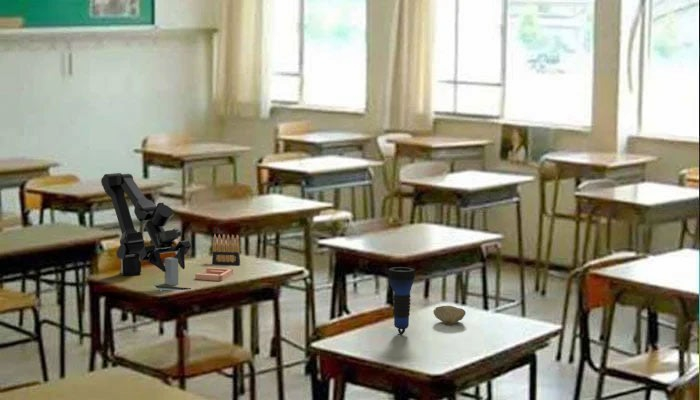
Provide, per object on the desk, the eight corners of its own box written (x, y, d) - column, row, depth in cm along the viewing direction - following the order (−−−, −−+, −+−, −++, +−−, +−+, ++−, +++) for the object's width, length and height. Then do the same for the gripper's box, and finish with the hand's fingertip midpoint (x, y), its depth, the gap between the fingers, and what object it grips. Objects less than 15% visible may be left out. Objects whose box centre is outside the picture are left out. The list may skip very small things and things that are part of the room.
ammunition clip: (212, 264, 449) (211, 233, 448) (213, 263, 451) (213, 233, 449) (239, 265, 448) (239, 234, 447) (240, 264, 450) (240, 234, 448)
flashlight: (398, 328, 357) (399, 265, 354) (418, 333, 353) (420, 268, 350) (382, 334, 351) (383, 269, 348) (403, 338, 346) (404, 272, 343)
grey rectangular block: (164, 285, 410) (164, 258, 409) (172, 284, 412) (171, 257, 411) (171, 287, 408) (170, 259, 406) (178, 286, 409) (178, 258, 408)
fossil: (469, 307, 362) (438, 301, 360) (469, 320, 359) (438, 314, 357) (459, 320, 369) (429, 315, 367) (459, 332, 366) (429, 327, 365)
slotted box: (195, 282, 418) (195, 274, 418) (207, 275, 430) (207, 267, 429) (221, 284, 416) (221, 275, 415) (232, 277, 427) (232, 269, 427)
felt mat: (159, 291, 403) (159, 290, 403) (154, 285, 412) (154, 285, 412) (191, 289, 407) (191, 288, 407) (185, 283, 416) (185, 282, 415)
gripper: (142, 223, 403) (160, 259, 396) (188, 218, 415) (206, 253, 408) (131, 242, 410) (148, 278, 403) (176, 236, 422) (193, 271, 415)
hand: (174, 269), depth 407 cm, fingers open, 7 cm apart
